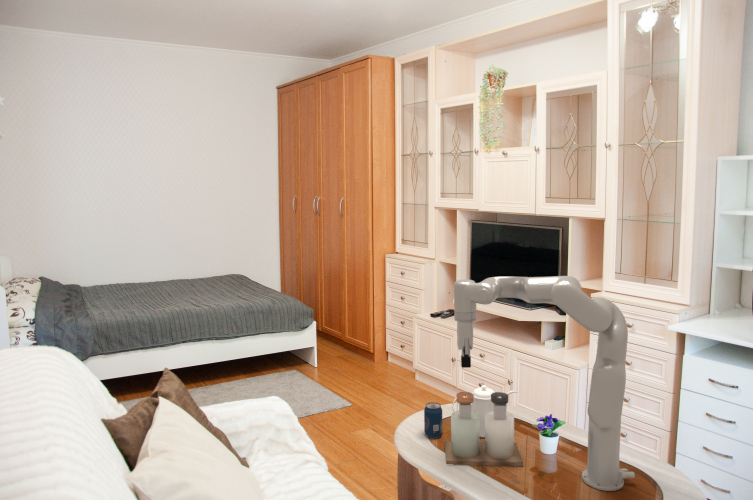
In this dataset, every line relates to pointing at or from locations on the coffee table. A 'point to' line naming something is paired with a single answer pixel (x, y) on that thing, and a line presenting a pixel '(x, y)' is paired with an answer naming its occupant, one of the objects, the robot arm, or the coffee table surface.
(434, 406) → the soda can
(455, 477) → the coffee table surface
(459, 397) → the brown rounded piece
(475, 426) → the pale green bottle
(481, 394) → the coffeepot
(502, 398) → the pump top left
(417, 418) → the coffee table surface
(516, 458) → the walnut tray
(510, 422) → the frosted white jar
